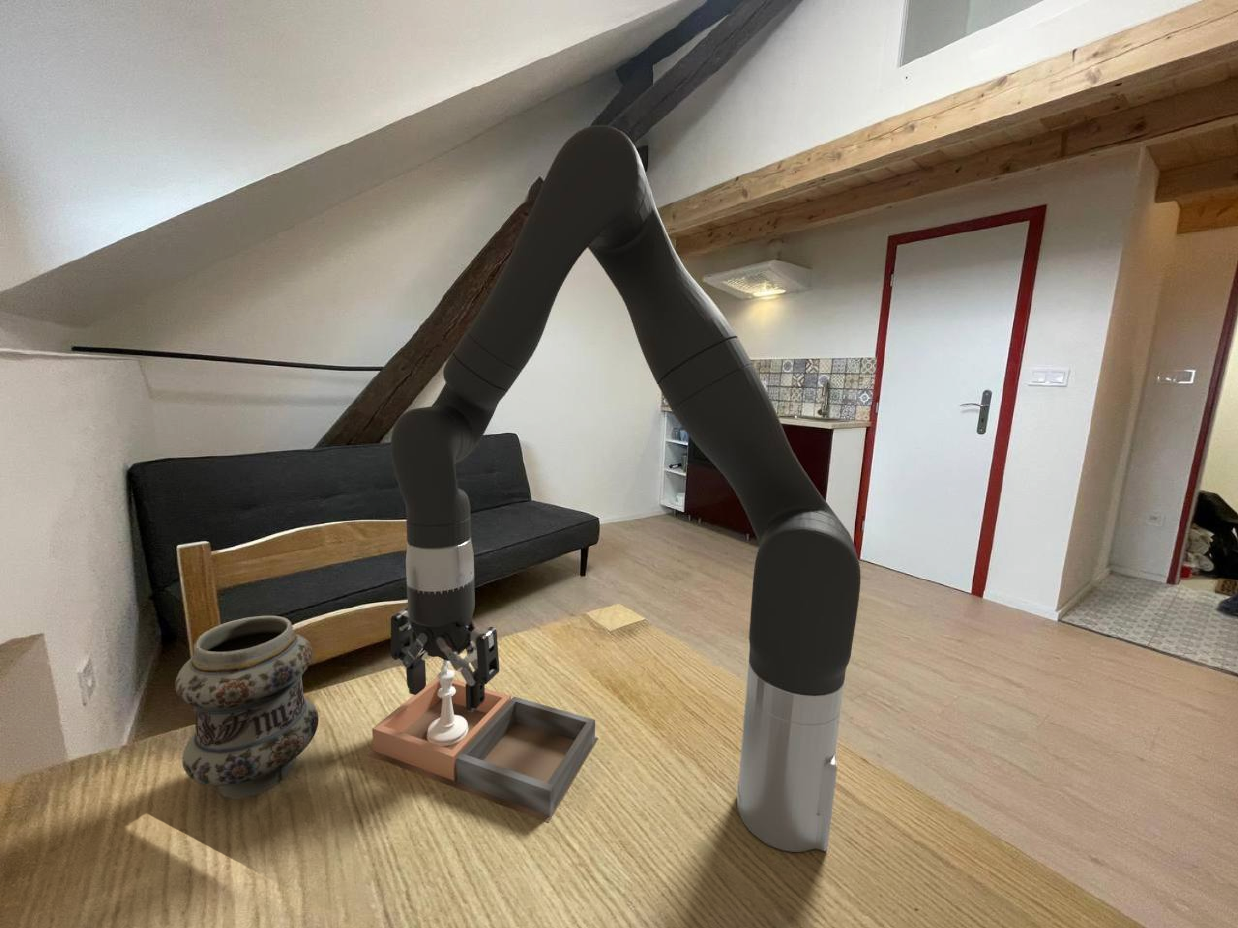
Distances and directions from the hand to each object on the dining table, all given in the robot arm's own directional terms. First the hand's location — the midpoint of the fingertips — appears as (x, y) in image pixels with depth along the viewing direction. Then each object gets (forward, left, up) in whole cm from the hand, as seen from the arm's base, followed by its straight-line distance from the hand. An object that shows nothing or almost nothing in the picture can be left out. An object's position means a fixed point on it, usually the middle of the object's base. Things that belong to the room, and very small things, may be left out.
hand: (445, 699), depth 62 cm
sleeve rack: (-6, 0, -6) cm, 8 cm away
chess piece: (0, 0, -5) cm, 5 cm away
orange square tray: (0, 0, -5) cm, 5 cm away
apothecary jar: (+15, +13, -6) cm, 21 cm away
